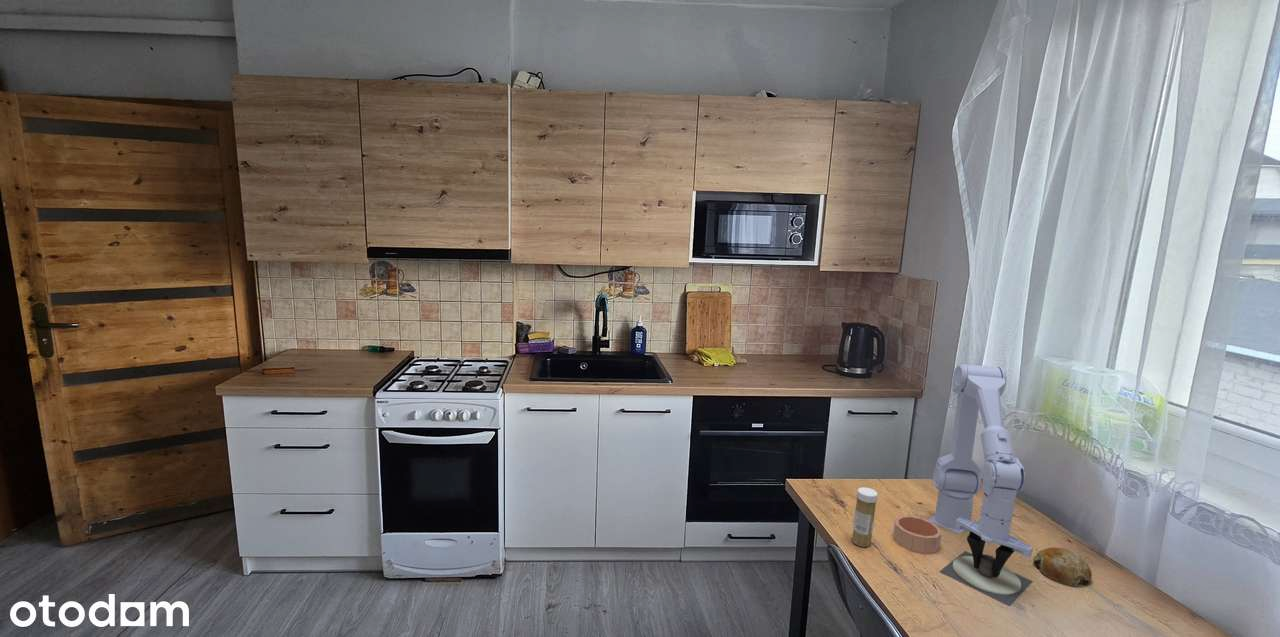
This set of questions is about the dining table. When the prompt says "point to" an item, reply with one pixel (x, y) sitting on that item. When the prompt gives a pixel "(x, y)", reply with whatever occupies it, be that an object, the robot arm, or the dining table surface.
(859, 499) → the sprinkles bottle
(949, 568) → the mat
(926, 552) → the bowl
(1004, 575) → the lid
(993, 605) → the dining table surface
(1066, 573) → the bread roll
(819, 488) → the dining table surface
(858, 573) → the dining table surface
